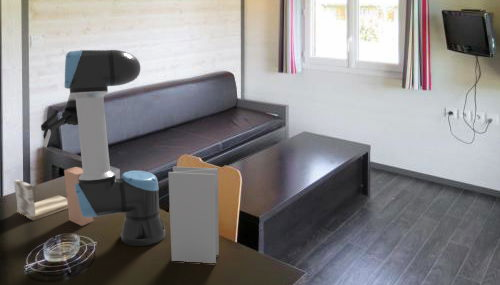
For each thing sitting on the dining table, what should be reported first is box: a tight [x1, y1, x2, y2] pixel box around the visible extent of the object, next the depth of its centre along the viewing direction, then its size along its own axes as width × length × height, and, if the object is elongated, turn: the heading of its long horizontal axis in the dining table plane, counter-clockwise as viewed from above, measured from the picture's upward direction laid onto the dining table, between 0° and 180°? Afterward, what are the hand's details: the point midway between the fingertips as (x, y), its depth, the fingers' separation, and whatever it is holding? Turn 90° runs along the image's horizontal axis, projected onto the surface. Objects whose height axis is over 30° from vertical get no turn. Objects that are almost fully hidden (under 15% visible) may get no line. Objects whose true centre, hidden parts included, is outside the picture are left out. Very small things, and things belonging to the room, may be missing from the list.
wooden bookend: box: [13, 178, 68, 221], centre depth 186 cm, size 12×18×14 cm, turn 144°
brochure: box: [168, 166, 220, 264], centre depth 148 cm, size 14×6×30 cm, turn 84°
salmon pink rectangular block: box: [63, 166, 94, 227], centre depth 175 cm, size 8×5×20 cm, turn 53°
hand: (64, 148), depth 177 cm, fingers open, 13 cm apart
